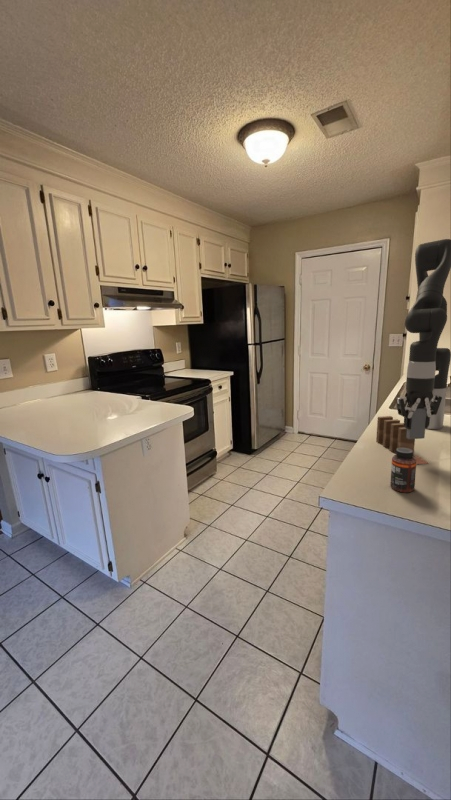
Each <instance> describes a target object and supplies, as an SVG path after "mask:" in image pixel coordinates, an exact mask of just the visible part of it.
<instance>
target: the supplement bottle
mask: <svg viewBox="0 0 451 800" xmlns="http://www.w3.org/2000/svg"><path fill="white" fill-rule="evenodd" d="M414 457H415V456H413V451H412V450H411V449H409V448H397V449H396V452H395V455H393V456H392V458H391V469H390V470H391V471H390V483H389V484H390V488H392V490H394V491H397V492H399V493H400V492H401V493H411V492H413V491H414V490H415V485H416V472H417V471H416V470H417V464H416V459H415V458H414Z"/></svg>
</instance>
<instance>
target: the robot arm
mask: <svg viewBox="0 0 451 800" xmlns="http://www.w3.org/2000/svg"><path fill="white" fill-rule="evenodd" d="M414 263H415V274H416V282H417V291H416V292H417V294H416V298H415V301H414V303H413V305H412V307H411V308H410V310H409V311H408V313H407V315H406V317H405V319H404V327H405V329H406V331H408V332H409V333H410V334H418V335H419V336H418V337H419V339H418V340H416V341H414V342H411V344H410V346H409V356H408V357H409V358H408V364H407V371H406V379H405V380H406V381H405V390H406V391H405V395H404V396H401V397H398V396H397V397H395V404H396V409H397V415H399V416H401V417H403V423H404V427H405V428H406V429H411V423H412V418H411V417H412V414H413V412H415V410H416V408H419V407H421V408H425V410H426V414H427V416H426V424H425V430H426V429H427V430H440V429H443V426H444V420H445V410H446V397H447V387H448V379H449V378H448V377H449V371H450V365H451V349H450V348H447V347H438V345H439V340H440V338H441V335H442V333H443V331H444V329H445V326H446V324H447V321H448V302H447V300H446V298H445V296H444V288H445V285H446V282H447V279H448V277H449V274H450V271H451V239H450V238H444V239H440V240H439V239H438V240H433V241H430V242H428V241H427V242H425V243H419V244H418V246H416V249H415V253H414ZM429 271H432V272H431V273H430V274H428V272H429ZM436 372H438V373H437V374H436ZM408 411H409V412H408Z"/></svg>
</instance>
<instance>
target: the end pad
mask: <svg viewBox="0 0 451 800" xmlns="http://www.w3.org/2000/svg"><path fill="white" fill-rule="evenodd" d="M413 457H414V458H415V459H416V465H427V464H428V462H427V461H426V460H424V459H422V458H421V457H420V456H413Z"/></svg>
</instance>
